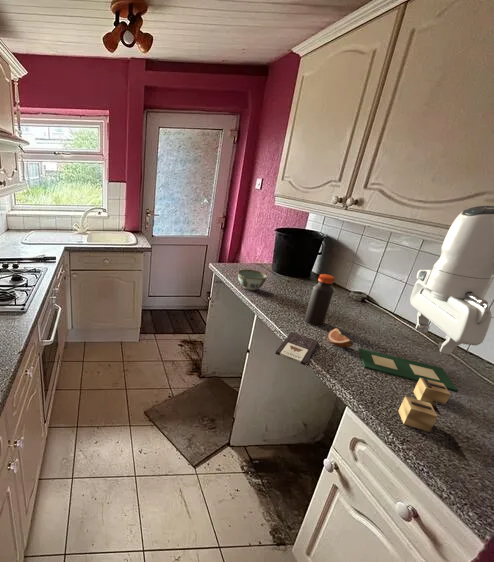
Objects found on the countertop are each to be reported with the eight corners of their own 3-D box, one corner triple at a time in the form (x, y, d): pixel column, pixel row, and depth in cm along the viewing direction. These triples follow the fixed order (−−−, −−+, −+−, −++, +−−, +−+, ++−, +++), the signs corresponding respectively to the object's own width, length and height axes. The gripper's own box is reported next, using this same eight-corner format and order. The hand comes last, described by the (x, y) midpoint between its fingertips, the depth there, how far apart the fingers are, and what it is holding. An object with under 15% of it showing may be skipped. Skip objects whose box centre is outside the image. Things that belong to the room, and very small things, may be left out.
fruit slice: (355, 353, 106) (359, 340, 105) (335, 351, 107) (339, 339, 105) (341, 340, 114) (345, 328, 112) (322, 338, 115) (326, 326, 113)
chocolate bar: (318, 341, 111) (305, 362, 98) (317, 343, 111) (305, 365, 99) (291, 331, 116) (276, 351, 104) (290, 333, 117) (275, 353, 104)
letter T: (436, 397, 87) (443, 382, 85) (443, 409, 83) (451, 393, 81) (413, 391, 89) (420, 376, 87) (418, 402, 85) (426, 387, 83)
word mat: (441, 369, 99) (442, 367, 99) (457, 392, 90) (458, 390, 89) (358, 349, 109) (358, 347, 109) (364, 367, 99) (365, 365, 99)
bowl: (259, 284, 164) (262, 270, 161) (267, 294, 152) (271, 279, 149) (232, 282, 165) (235, 268, 162) (239, 292, 153) (242, 277, 150)
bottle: (326, 323, 126) (340, 277, 119) (318, 327, 122) (333, 280, 115) (308, 316, 131) (321, 272, 124) (301, 320, 127) (313, 275, 120)
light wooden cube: (422, 418, 80) (431, 402, 78) (429, 432, 75) (438, 415, 74) (398, 411, 82) (405, 395, 80) (403, 424, 78) (411, 407, 76)
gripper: (515, 306, 55) (480, 371, 60) (447, 271, 73) (425, 323, 78) (469, 301, 57) (440, 363, 62) (414, 268, 75) (395, 319, 80)
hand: (431, 341), depth 70 cm, fingers open, 8 cm apart
